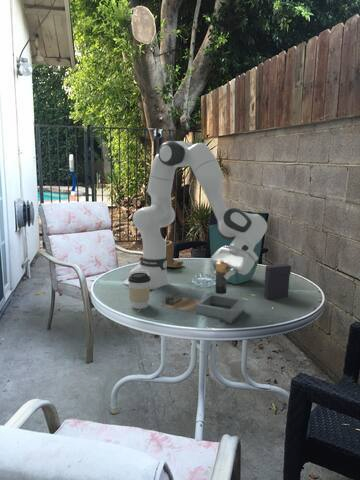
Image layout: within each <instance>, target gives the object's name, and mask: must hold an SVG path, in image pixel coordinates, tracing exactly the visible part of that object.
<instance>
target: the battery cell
mask: <svg viewBox="0 0 360 480" xmlns="http://www.w3.org/2000/svg"><path fill="white" fill-rule="evenodd" d="M225 273H226V274H227V262H224V261H223V260H220V262H216V275H215V294H217V295H225V294H227V293H228V291H227V290H228V289H227V286H228V282H227V279H224V278H223V275H224V274H225Z"/></svg>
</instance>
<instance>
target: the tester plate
mask: <svg viewBox="0 0 360 480" xmlns="http://www.w3.org/2000/svg"><path fill="white" fill-rule="evenodd" d="M201 300H202V299H195V298H189V297H185V296H184V297H182V292H179V291H174V292H172V293H170V294H169V295H167V296H165V302H164V304H162V305H161V307H165V308H170V309H175V310H178V311H184V312H188V313H189V312H190V313H193V312H195V304H197V303H198V302H200V301H201Z"/></svg>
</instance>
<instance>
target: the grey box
mask: <svg viewBox="0 0 360 480" xmlns="http://www.w3.org/2000/svg"><path fill="white" fill-rule="evenodd" d="M291 269H292V265H289V264H287V263H282V264H269V265H266V266H265V274H264V276H265V277H264V291H263V292H264V295H263V298H264V299H266V300H267V301H269V300H277V299H285V298H289V290H290V289H289V288H290V277H291V276H290V275H291V271H292V270H291Z"/></svg>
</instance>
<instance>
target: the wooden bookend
mask: <svg viewBox="0 0 360 480" xmlns="http://www.w3.org/2000/svg"><path fill="white" fill-rule="evenodd" d="M165 241H166V257H167V268H180V267H182V266H183V264H184V261H182V260H175V259H174V251H175V246H174V242H173V241H171V240H165Z"/></svg>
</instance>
